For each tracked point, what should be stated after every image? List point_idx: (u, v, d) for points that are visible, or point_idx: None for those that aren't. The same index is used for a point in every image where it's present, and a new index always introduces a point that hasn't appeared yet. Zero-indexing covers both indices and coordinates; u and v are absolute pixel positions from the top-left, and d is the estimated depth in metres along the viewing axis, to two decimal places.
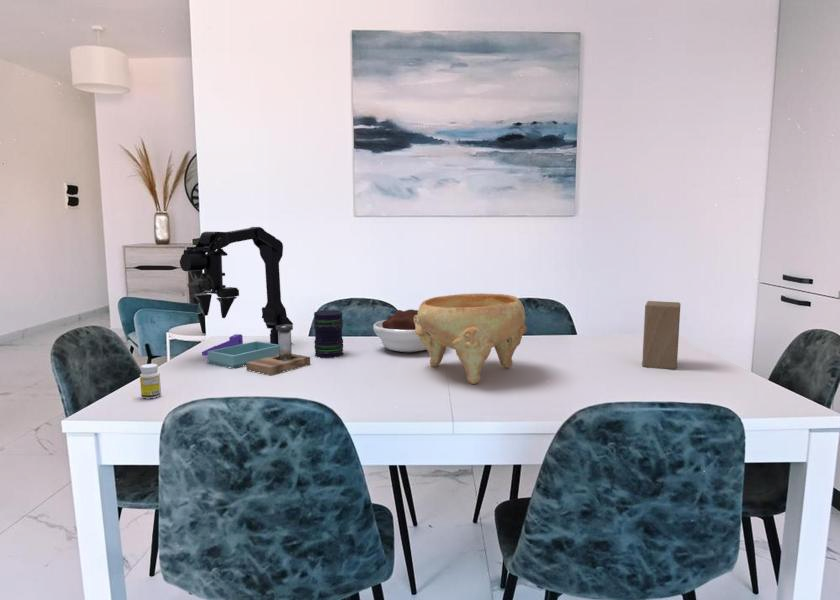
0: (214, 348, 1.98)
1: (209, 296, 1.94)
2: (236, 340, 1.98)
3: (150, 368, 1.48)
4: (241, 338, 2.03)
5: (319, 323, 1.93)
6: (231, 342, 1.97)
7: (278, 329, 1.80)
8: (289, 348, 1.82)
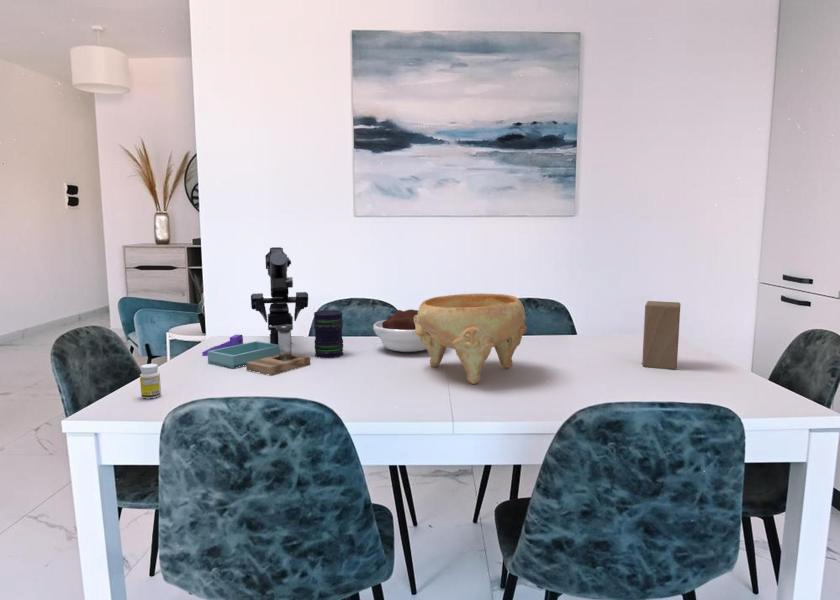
0: (214, 348, 1.97)
1: None
2: (236, 340, 1.97)
3: (150, 368, 1.48)
4: (241, 338, 2.02)
5: (319, 323, 1.93)
6: (232, 342, 1.97)
7: (278, 329, 1.80)
8: (289, 348, 1.82)
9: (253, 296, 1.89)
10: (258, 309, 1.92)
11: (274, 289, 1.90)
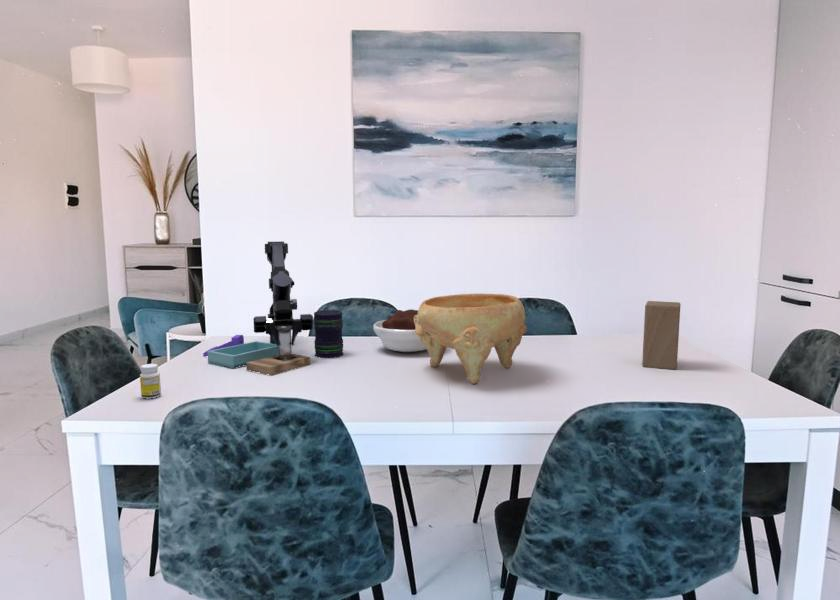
0: None
1: None
2: (238, 341, 1.97)
3: (150, 368, 1.48)
4: (242, 338, 2.02)
5: (319, 323, 1.93)
6: (233, 342, 1.96)
7: (278, 329, 1.80)
8: (289, 348, 1.82)
9: (256, 319, 1.81)
10: (268, 332, 1.85)
11: (278, 311, 1.83)
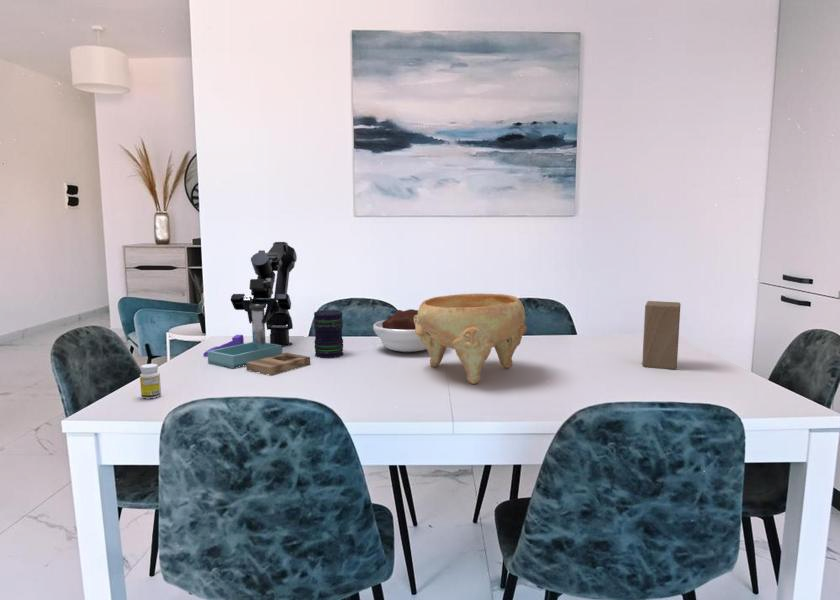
0: None
1: None
2: (239, 340, 1.97)
3: (150, 368, 1.48)
4: (242, 338, 2.02)
5: (319, 323, 1.93)
6: (234, 342, 1.96)
7: (250, 307, 1.83)
8: (261, 326, 1.84)
9: (233, 296, 1.86)
10: (247, 310, 1.89)
11: (253, 290, 1.86)
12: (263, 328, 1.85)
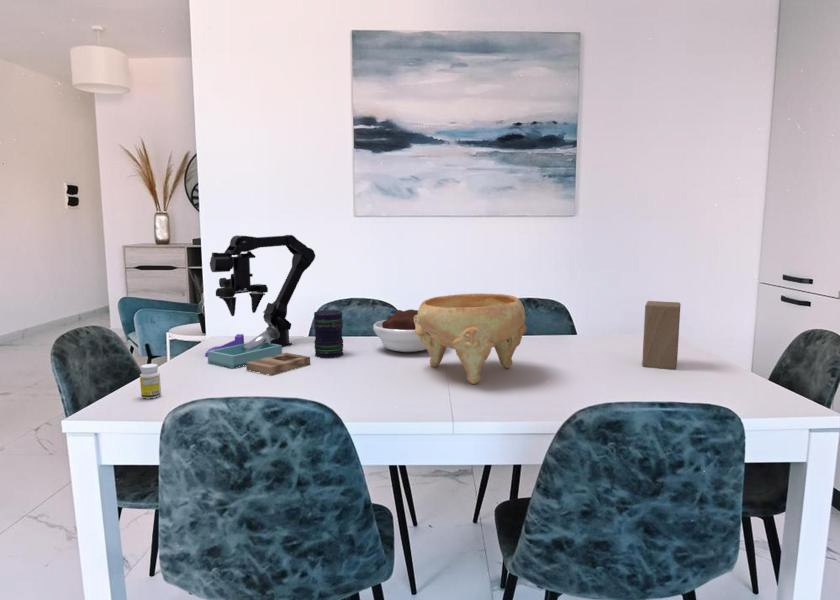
0: None
1: (257, 295, 2.07)
2: (241, 340, 1.98)
3: (150, 368, 1.48)
4: (243, 338, 2.03)
5: (319, 323, 1.93)
6: (237, 342, 1.97)
7: (267, 327, 2.00)
8: (261, 339, 1.94)
9: None
10: None
11: None
12: (261, 343, 1.94)
